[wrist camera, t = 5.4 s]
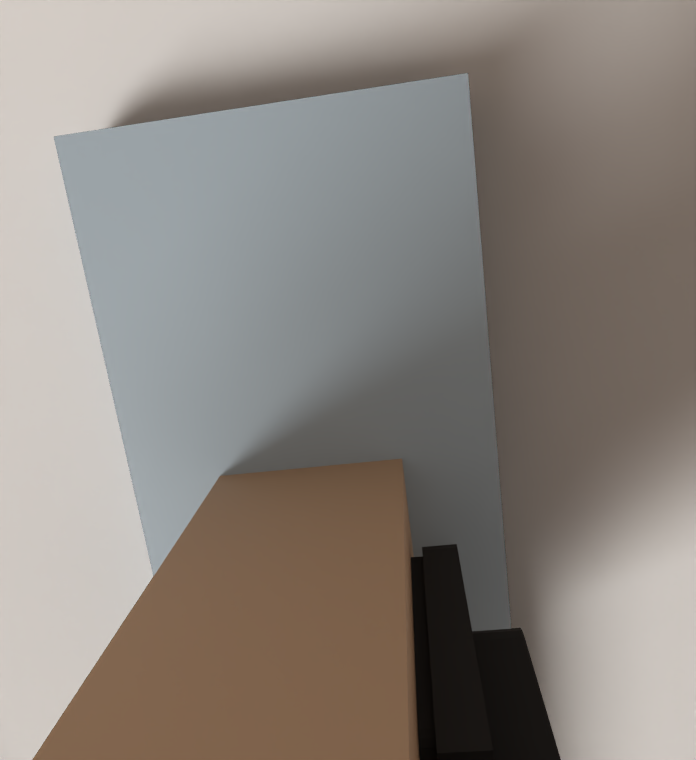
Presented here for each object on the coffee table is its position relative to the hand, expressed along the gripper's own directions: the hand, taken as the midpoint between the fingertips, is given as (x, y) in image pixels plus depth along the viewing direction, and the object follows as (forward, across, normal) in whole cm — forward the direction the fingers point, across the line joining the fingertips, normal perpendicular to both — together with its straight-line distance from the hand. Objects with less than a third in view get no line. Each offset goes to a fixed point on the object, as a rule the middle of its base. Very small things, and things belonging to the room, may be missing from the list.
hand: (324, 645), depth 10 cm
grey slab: (+2, 0, 0) cm, 2 cm away
